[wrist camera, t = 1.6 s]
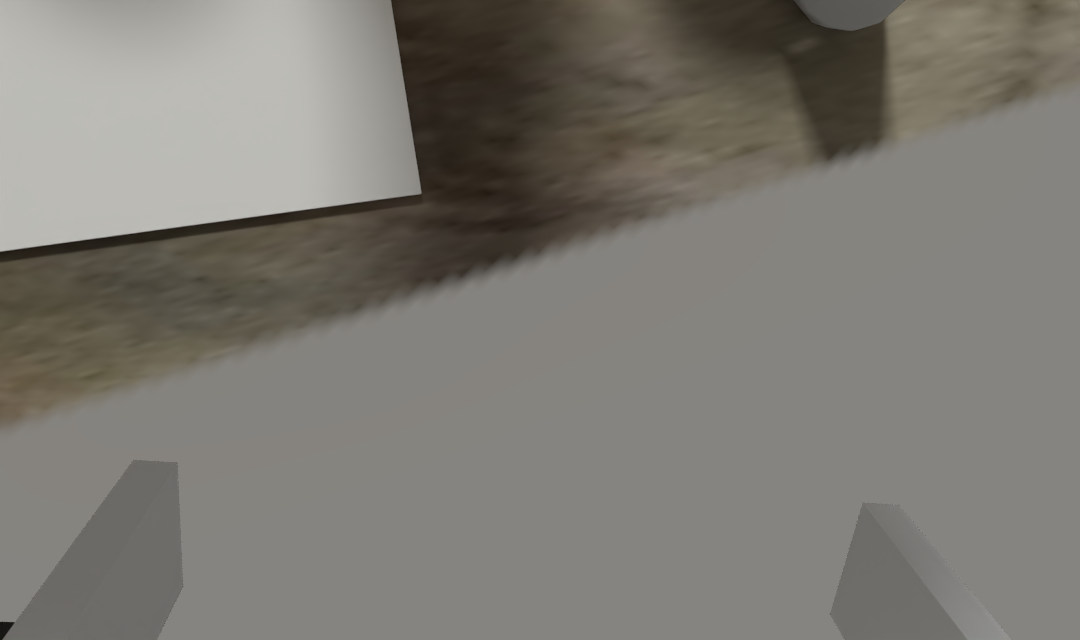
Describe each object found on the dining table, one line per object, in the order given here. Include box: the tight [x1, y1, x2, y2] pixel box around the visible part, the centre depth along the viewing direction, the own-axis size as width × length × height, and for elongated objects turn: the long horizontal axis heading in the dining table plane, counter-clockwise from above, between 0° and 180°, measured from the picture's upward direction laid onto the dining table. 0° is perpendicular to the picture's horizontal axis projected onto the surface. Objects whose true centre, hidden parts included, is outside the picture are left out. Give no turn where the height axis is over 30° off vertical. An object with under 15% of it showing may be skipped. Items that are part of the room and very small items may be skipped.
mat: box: [0, 0, 422, 252], centre depth 37 cm, size 22×13×1 cm, turn 98°
